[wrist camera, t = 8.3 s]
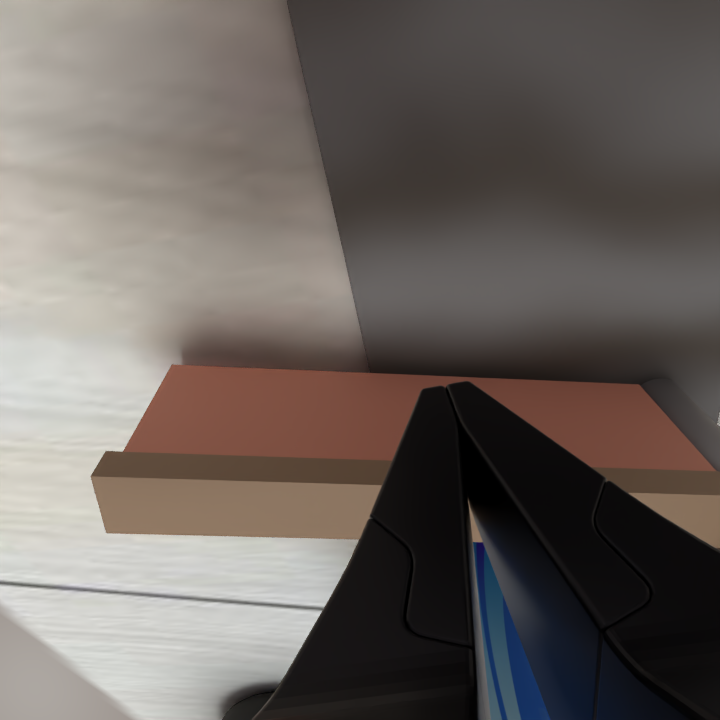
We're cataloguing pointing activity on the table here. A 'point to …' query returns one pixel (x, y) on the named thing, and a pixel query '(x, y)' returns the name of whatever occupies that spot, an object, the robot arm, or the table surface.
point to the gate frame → (525, 184)
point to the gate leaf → (375, 449)
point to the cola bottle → (247, 707)
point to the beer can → (504, 652)
